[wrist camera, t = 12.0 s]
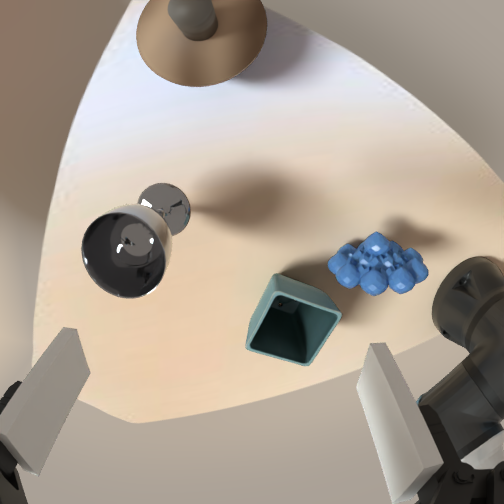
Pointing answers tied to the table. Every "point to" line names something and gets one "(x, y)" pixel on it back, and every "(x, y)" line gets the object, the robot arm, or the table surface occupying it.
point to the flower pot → (292, 321)
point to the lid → (200, 39)
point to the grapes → (378, 266)
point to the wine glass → (135, 241)
